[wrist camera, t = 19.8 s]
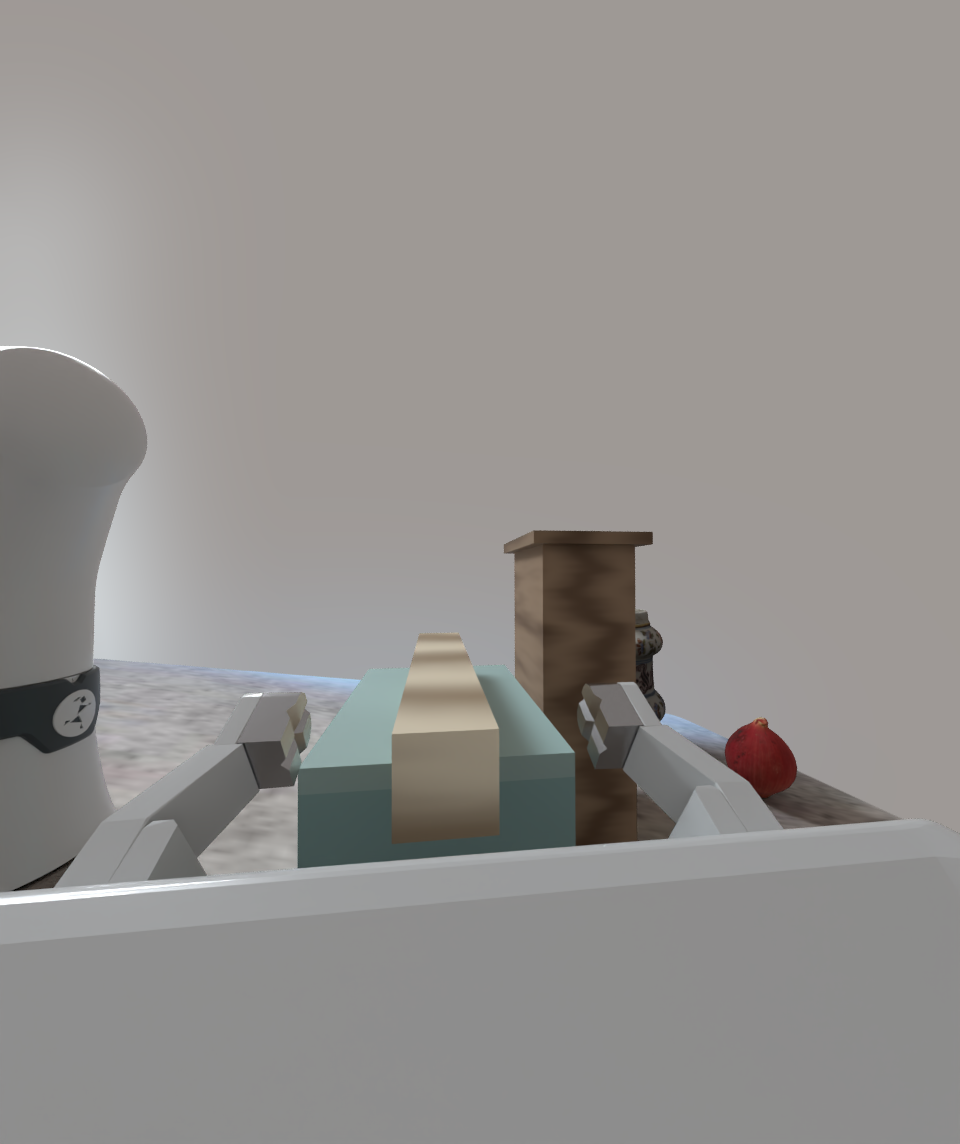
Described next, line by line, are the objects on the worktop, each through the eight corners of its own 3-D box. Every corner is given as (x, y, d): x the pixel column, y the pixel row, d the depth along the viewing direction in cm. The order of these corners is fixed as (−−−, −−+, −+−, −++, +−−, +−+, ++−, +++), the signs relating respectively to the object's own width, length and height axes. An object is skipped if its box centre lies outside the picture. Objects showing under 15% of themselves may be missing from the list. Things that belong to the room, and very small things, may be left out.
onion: (731, 804, 37) (730, 722, 37) (721, 776, 43) (720, 704, 43) (806, 820, 35) (804, 732, 35) (786, 788, 40) (785, 712, 40)
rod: (499, 835, 11) (499, 729, 11) (391, 843, 10) (391, 734, 11) (458, 671, 30) (458, 632, 30) (419, 672, 29) (419, 633, 29)
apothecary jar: (580, 722, 59) (579, 605, 59) (667, 737, 53) (665, 607, 53) (557, 754, 48) (557, 611, 48) (664, 777, 42) (662, 615, 43)
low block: (296, 1169, 14) (298, 768, 15) (368, 858, 30) (369, 669, 30) (577, 1119, 16) (575, 752, 16) (505, 846, 32) (504, 664, 32)
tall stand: (535, 862, 30) (533, 530, 30) (504, 776, 43) (504, 544, 43) (655, 851, 31) (652, 531, 31) (590, 770, 44) (589, 545, 44)
